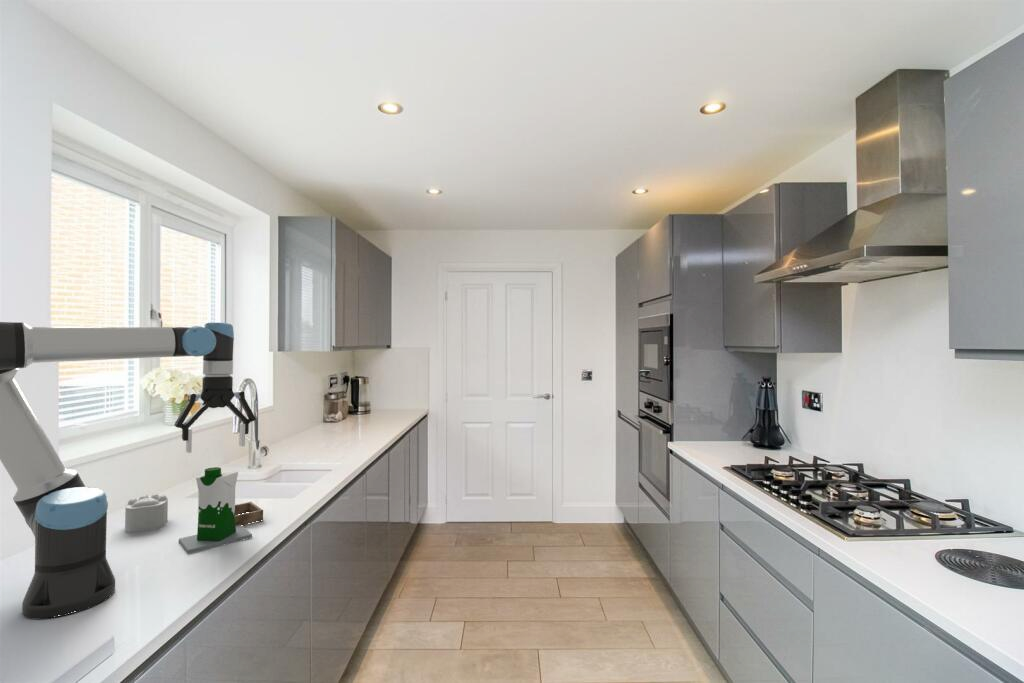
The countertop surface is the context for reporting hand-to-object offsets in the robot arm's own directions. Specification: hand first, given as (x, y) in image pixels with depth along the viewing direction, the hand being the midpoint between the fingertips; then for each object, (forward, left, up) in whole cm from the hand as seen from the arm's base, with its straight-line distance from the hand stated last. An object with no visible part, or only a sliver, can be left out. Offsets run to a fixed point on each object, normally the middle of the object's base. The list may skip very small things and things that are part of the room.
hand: (216, 448), depth 141 cm
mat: (0, 0, -26) cm, 26 cm away
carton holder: (+9, +13, -26) cm, 31 cm away
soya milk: (+1, 0, -26) cm, 26 cm away
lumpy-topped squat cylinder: (-11, +30, -27) cm, 42 cm away
